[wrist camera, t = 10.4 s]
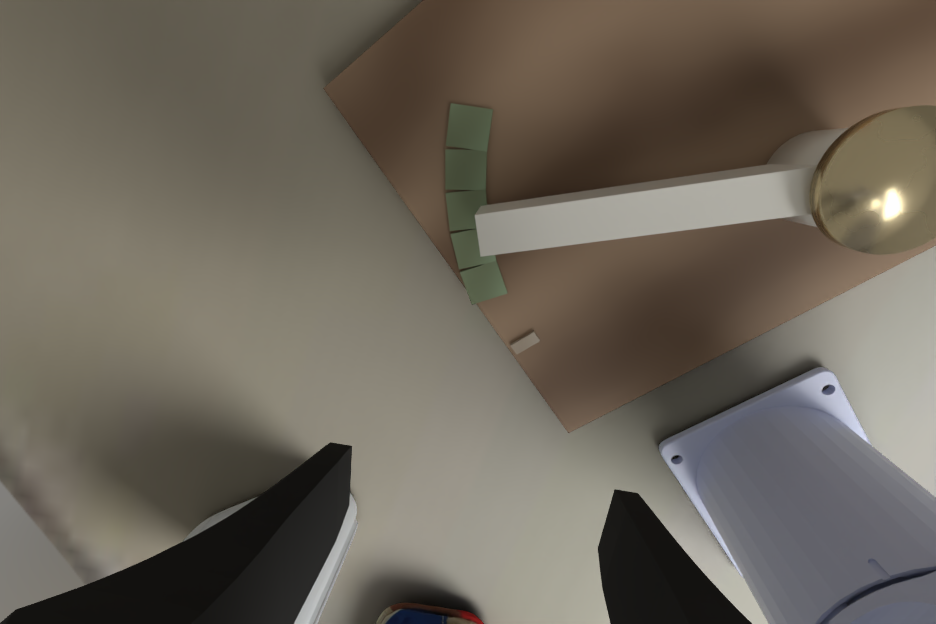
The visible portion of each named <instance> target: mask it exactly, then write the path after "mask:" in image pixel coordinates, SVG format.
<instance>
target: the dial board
mask: <svg viewBox="0 0 936 624" xmlns="http://www.w3.org/2000/svg"><path fill="white" fill-rule="evenodd" d="M323 89H324V90H325V92H326V93H327V94H328V96H329V97H330V99H331V100H332V101H333V103H334V104H335V106H336V107H337V108H338V110H339V111H340V113H341V114H342V116H343V117H344V118H345V120H346V121H347V123H348V124H349V125H350V127H351V128H352V130H353V131H354V132H355V134H356V135H357V137H358V138H359V139H360V141H361V142H362V144H363V145H364V146H365V148H366V149H367V151H368V152H369V153H370V155H371V156H372V158H373V159H374V160H375V162H376V163H377V165H378V166H379V168H380V169H381V170H382V172H383V173H384V175H385V176H386V177H387V179H388V180H389V182H390V183H391V184H392V186H393V187H394V189H395V190H396V191H397V193H398V194H399V196H400V197H401V198H402V200H403V201H404V203H405V204H406V205H407V207H408V208H409V210H410V211H411V212H412V214H413V215H414V217H415V218H416V220H417V221H418V222H419V224H420V225H421V227H422V228H423V229H424V231H425V232H426V234H427V235H428V236H429V238H430V239H431V241H432V242H433V243H434V245H435V246H436V248H437V249H438V250H439V252H440V253H441V255H442V256H443V257H444V259H445V260H446V262H447V263H448V264H449V266H450V267H451V269H452V270H453V272H454V273H455V274H456V276H457V277H458V279H459V280H460V281H461V283H462V284H463V286H464V287H465V288H466V290H467V293H468V295H469V298H470V301H471V303H472V305H473V304H477V305H478V307H479V308H480V309H481V311H482V312H483V314H484V315H485V316H486V318H487V319H488V321H489V322H490V324H491V325H492V326H493V328H494V329H495V331H496V332H497V333H498V335H499V336H500V338H501V339H502V340H503V342H504V343H505V345H506V346H507V347H508V349H509V350H510V352H511V353H512V354H513V356H514V357H515V359H516V360H517V361H518V363H519V364H520V366H521V367H522V368H523V370H524V371H525V373H526V374H527V376H528V377H529V378H530V380H531V381H532V383H533V384H534V385H535V387H536V388H537V390H538V391H539V392H540V394H541V395H542V397H543V398H544V399H545V401H546V402H547V404H548V405H549V406H550V408H551V409H552V411H553V412H554V413H555V415H556V416H557V418H558V419H559V420H560V422H561V423H562V425H563V426H564V428H565V429H566V430H567V432H568V433H570V432H572V431H574V430H576V429H577V428H579V427H581V426H583V425H585V424H587V423H589V422H591V421H593V420H595V419H597V418H599V417H601V416H603V415H605V414H607V413H609V412H611V411H613V410H615V409H617V408H619V407H621V406H622V405H624V404H626V403H628V402H630V401H632V400H634V399H636V398H638V397H640V396H642V395H644V394H646V393H648V392H650V391H652V390H654V389H656V388H658V387H660V386H662V385H664V384H666V383H668V382H669V381H671V380H673V379H675V378H677V377H679V376H681V375H683V374H685V373H687V372H689V371H691V370H693V369H695V368H697V367H699V366H701V365H703V364H705V363H707V362H709V361H711V360H713V359H714V358H716V357H718V356H720V355H722V354H724V353H726V352H728V351H730V350H732V349H734V348H736V347H738V346H740V345H742V344H744V343H746V342H748V341H750V340H752V339H754V338H756V337H758V336H759V335H761V334H763V333H765V332H767V331H769V330H771V329H773V328H775V327H777V326H779V325H781V324H783V323H785V322H787V321H789V320H791V319H793V318H795V317H797V316H799V315H801V314H803V313H804V312H806V311H808V310H810V309H812V308H814V307H816V306H818V305H820V304H822V303H824V302H826V301H828V300H830V299H832V298H834V297H836V296H838V295H840V294H842V293H844V292H846V291H848V290H850V289H851V288H853V287H855V286H857V285H859V284H861V283H863V282H865V281H867V280H869V279H871V278H873V277H875V276H877V275H879V274H881V273H883V272H885V271H887V270H889V269H891V268H893V267H895V266H896V265H898V264H900V263H902V262H904V261H906V260H908V259H910V258H912V257H914V256H916V255H918V254H920V253H922V252H924V251H926V250H928V249H930V248H932V247H934V246H936V238H934V239H933V240H931V241H929V242H927V243H925V244H923V245H921V246H919V247H917V248H914V249H911V250H908V251H905V252H901V253H895V254H887V255H875V254H868V253H862V252H859V251H855V250H851V249H848V248H845V247H842V246H839V245H837V244H835V243H834V242H832V241H831V240H829V239H828V238H826V237H825V236H824V235H823V234H822V233H821V231H820V230H819V229H818V227H814V226H810V225H805V224H801V223H797V222H792V221H788V220H785V219H782V218H777V219H769V220H761V221H754V222H746V223H738V224H730V225H723V226H715V227H707V228H699V229H692V230H684V231H676V232H668V233H661V234H653V235H645V236H637V237H630V238H622V239H614V240H606V241H599V242H591V243H583V244H575V245H568V246H560V247H552V248H544V249H537V250H529V251H521V252H513V253H506V254H498V255H490V256H482V257H481V256H480V249H479V242H478V235H477V228H476V221H475V214H476V212H477V211H478V209H479V208H480V207H481V206H484V205H491V204H497V203H504V202H511V201H518V200H525V199H532V198H539V197H546V196H553V195H560V194H566V193H573V192H580V191H587V190H594V189H601V188H608V187H615V186H622V185H629V184H636V183H642V182H649V181H656V180H663V179H670V178H677V177H684V176H691V175H698V174H705V173H712V172H718V171H725V170H732V169H739V168H746V167H753V166H760V165H766V164H767V162H768V161H769V159H770V158H771V156H772V155H773V154H774V152H775V151H776V150H777V149H778V148H779V147H780V146H781V145H783V144H784V143H785V142H786V141H788V140H790V139H791V138H793V137H795V136H797V135H799V134H802V133H805V132H810V131H818V130H829V129H841V128H850V127H851V126H852V125H854V124H856V123H857V122H859V121H861V120H862V119H864V118H866V117H869V116H871V115H873V114H876V113H879V112H882V111H885V110H890V109H894V108H902V107H910V106H920V105H931V106H936V0H423V1H422V2H421V3H419V4H418V5H417V6H416V7H415V8H414V9H413V10H412V11H410V12H409V13H408V14H407V15H406V16H405V17H404V18H402V19H401V20H400V21H399V22H398V23H397V24H396V25H395V26H393V27H392V28H391V29H390V30H389V31H388V32H387V33H385V34H384V35H383V36H382V37H381V38H380V39H379V40H378V41H376V42H375V43H374V44H373V45H372V46H371V47H370V48H369V49H367V50H366V51H365V52H364V53H363V54H362V55H361V56H359V57H358V58H357V59H356V60H355V61H354V62H353V63H352V64H350V65H349V66H348V67H347V68H346V69H345V70H344V71H342V72H341V73H340V74H339V75H338V76H337V77H336V78H335V79H333V80H332V81H331V82H330V83H329V84H328V85H327V86H326V87H324V88H323Z"/></svg>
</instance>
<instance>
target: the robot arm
mask: <svg viewBox="0 0 936 624" xmlns="http://www.w3.org/2000/svg"><path fill="white" fill-rule="evenodd" d="M826 385H829V387H828V388H827V389H826V390H824V391H822V389H823V387H824V386H826ZM659 451H660V454H661V456H662V457H663V459H664V460H665V462H666V463H667V465H668V466H669V468H670V469H671V471H672V472H673V474H674V475H675V477H676V478H677V480H678V481H679V483H680V484H681V486H682V487H683V489H684V491H685V492H686V494H687V495H688V497H689V498H690V500H691V501H692V503H693V504H694V506H695V507H696V509H697V510H698V512H699V513H700V515H701V516H702V518H703V519H704V521H705V522H706V524H707V525H708V527H709V528H710V530H711V531H712V533H713V534H714V536H715V537H716V539H717V540H718V542H719V543H720V545H721V547H722V548H723V550H724V551H725V553H726V554H727V556H728V557H729V559H730V560H731V562H732V563H733V565H734V566H735V568H736V569H737V571H738V572H739V574H740V575H741V576H742V577H743V578H744V579H745V581H746V583H747V585H748V587H749V588H750V590H751V592H752V594H753V596H754V598H755V599H756V601H757V603H758V605H759V607H760V609H761V610H762V612H763V614H764V616H765V618H766V619H767V621H768V623H769V624H936V497H934V496H933V495H932V494H931V493H930V492H928V491H927V490H926V489H925V488H923V487H922V486H921V485H920V484H918V483H917V482H916V481H915V480H913V479H912V478H911V477H910V476H908V475H907V474H906V473H905V472H903V471H902V470H901V469H900V468H898V467H897V466H896V465H895V464H894V463H892V462H891V461H890V460H889V459H887V458H886V457H885V456H884V455H882V454H881V453H880V452H879V451H877V450H876V449H875V448H874V447H872V445H871V443H870V441H869V439H868V438H867V436H866V434H865V432H864V430H863V428H862V426H861V424H860V422H859V420H858V418H857V416H856V414H855V412H854V410H853V409H852V407H851V405H850V403H849V401H848V399H847V397H846V395H845V393H844V391H843V389H842V387H841V385H840V383H839V382H838V380H837V378H836V376H835V374H834V373H833V372H832V371H830V370H829V369H827V368H824V367H818V368H815V369H812V370H810V371H808V372H806V373H804V374H802V375H800V376H798V377H796V378H793V379H791V380H789V381H787V382H785V383H783V384H781V385H779V386H777V387H775V388H772V389H770V390H768V391H766V392H764V393H762V394H760V395H758V396H756V397H754V398H751V399H749V400H747V401H745V402H743V403H741V404H739V405H737V406H735V407H732V408H730V409H728V410H726V411H724V412H722V413H720V414H718V415H716V416H714V417H711V418H709V419H707V420H705V421H703V422H701V423H699V424H697V425H695V426H693V427H690V428H688V429H686V430H684V431H682V432H680V433H678V434H676V435H674V436H672V437H669V438H667V439H665V440H664V441H662V442H661V443H660V445H659ZM675 455H679V457H678V458H677V459H671V458H672V457H673V456H675ZM351 456H352V446H349V445H343V444H337V443H331V442H330V443H329V444H328V445H326V446H325V447H324V448H322V449H321V450H320V451H318V452H317V453H316V454H315V455H313V456H312V457H311V458H310V459H308V460H307V461H306V462H304V463H303V464H302V465H301V466H299V467H298V468H297V469H295V470H294V471H293V472H292V473H290V474H289V475H288V476H286V477H285V478H283V479H282V480H281V481H279V482H278V483H277V484H275V485H274V486H273V487H271V488H270V489H269V490H267V491H266V492H264V493H263V494H261V495H260V496H258V497H257V498H255V499H254V500H253V501H251V502H250V503H248V504H247V505H245V506H244V507H242V508H241V509H239V510H238V511H236V512H235V513H233V514H231V515H230V516H228V517H227V518H225V519H223V520H222V521H220V522H218V523H216V524H215V525H213V526H211V527H209V528H208V529H206V530H204V531H202V532H201V533H199V534H197V535H195V536H193V537H191V538H189V539H187V540H185V541H183V542H181V543H179V544H177V545H175V546H173V547H171V548H169V549H167V550H165V551H163V552H161V553H159V554H157V555H155V556H153V557H151V558H149V559H147V560H144V561H142V562H140V563H138V564H135V565H133V566H131V567H129V568H126V569H124V570H122V571H119V572H117V573H114V574H112V575H110V576H107V577H105V578H102V579H100V580H97V581H95V582H92V583H90V584H87V585H85V586H82V587H79V588H77V589H74V590H71V591H68V592H65V593H63V594H60V595H57V596H54V597H51V598H48V599H46V600H43V601H40V602H37V603H34V604H31V605H28V606H25V607H22V608H19V609H17V610H15V611H14V612H13V613H11V614H10V615H9V616H8V617H7V618H6V619H4V620H3V621H2V622H1V623H0V624H294V622H295V620H296V619H297V617H298V615H299V613H300V611H301V609H302V607H303V605H304V603H305V601H306V599H307V597H308V595H309V593H310V591H311V589H312V587H313V585H314V583H315V582H316V580H317V578H318V576H319V574H320V572H321V570H322V568H323V566H324V564H325V562H326V560H327V558H328V556H329V554H330V552H331V550H332V548H333V546H334V544H335V542H336V540H337V537H338V535H339V532H340V529H341V527H342V524H343V521H344V519H345V516H346V513H347V510H348V508H349V503H350V479H351ZM598 553H599V563H600V572H601V580H602V587H603V592H604V597H605V601H606V605H607V610H608V614H609V618H610V623H611V624H752V623H751V622H750V621H749V620H748V619H747V618H746V617H745V616H744V615H743V614H742V613H741V612H740V611H739V610H738V609H737V608H736V607H735V606H734V605H733V604H732V603H731V602H730V601H729V600H728V599H727V598H726V597H725V596H724V595H723V594H722V593H721V592H720V591H719V589H718V588H717V587H716V586H715V585H714V584H713V583H712V582H711V581H710V580H709V579H708V578H707V576H706V575H705V574H704V573H703V572H702V571H701V570H700V568H699V567H698V566H697V565H696V564H695V563H694V562H693V560H692V559H691V558H690V557H689V556H688V555H687V553H686V552H685V551H684V550H683V549H682V547H681V546H680V545H679V544H678V543H677V541H676V540H675V539H674V538H673V536H672V535H671V534H670V533H669V531H668V530H667V529H666V528H665V526H664V525H663V524H662V523H661V521H660V520H659V519H658V518H657V516H656V515H655V514H654V513H653V511H652V510H651V509H650V508H649V506H648V505H647V504H646V503H645V501H644V500H643V499H642V498H641V496H640V495H639V494H638V493H633V492H627V491H621V490H614V494H613V497H612V501H611V504H610V508H609V511H608V515H607V518H606V522H605V525H604V529H603V532H602V536H601V539H600V543H599V546H598Z"/></svg>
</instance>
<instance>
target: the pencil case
mask: <svg viewBox="0 0 936 624" xmlns="http://www.w3.org/2000/svg"><path fill="white" fill-rule="evenodd" d="M376 624H484V623H483V622H482V621H481V620H480V619H479V618H478V617H477V616H475V615H474V614H473V613H470V612H467V611H462V610H455V609H447V608H442V607H436V606H428V605H423V604H417V603H398V604H395V605H392V606H390V607H388V608H386V609H385V610H384V611H383V612H382V613H381V615H380V616H379V617H378V620H377V622H376Z"/></svg>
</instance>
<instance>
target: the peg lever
mask: <svg viewBox="0 0 936 624" xmlns="http://www.w3.org/2000/svg"><path fill="white" fill-rule="evenodd" d="M777 218H782V219H785V220H788V221H792V222H797V223H801V224H805V225H810V226H814V227H818V229H819V230H820V231H821V233H822V234H823V235H824V236H825V237H826V238H828V239H829V240H831V241H832V242H834V243H835V244H837V245H839V246H842V247H845V248H848V249H851V250H855V251H859V252H862V253H868V254H875V255H887V254H895V253H901V252H905V251H908V250H911V249H914V248H917V247H919V246H921V245H923V244H925V243H927V242H929V241H931V240H933V239H934V238H936V106H931V105H920V106H910V107H902V108H894V109H890V110H885V111H882V112H879V113H876V114H873V115H871V116H869V117H866V118H864V119H862V120H861V121H859V122H857V123H856V124H854V125H852V126H851V127H850V128H841V129H829V130H818V131H810V132H805V133H802V134H799V135H797V136H795V137H793V138H791V139H790V140H788V141H786V142H785V143H784V144H783V145H781V146H780V147H779V148H778V149H777V150H776V151H775V152H774V154H773V155H772V156H771V158H770V159H769V161H768V162H767V164H766V165H760V166H753V167H746V168H739V169H732V170H725V171H718V172H712V173H705V174H698V175H691V176H684V177H677V178H670V179H663V180H656V181H649V182H642V183H636V184H629V185H622V186H615V187H608V188H601V189H594V190H587V191H580V192H573V193H566V194H560V195H553V196H546V197H539V198H532V199H525V200H518V201H511V202H504V203H497V204H491V205H484V206H481V207H480V208H479V209H478V211H477V212H476V214H475V221H476V228H477V235H478V242H479V249H480V256H481V257H482V256H490V255H498V254H506V253H513V252H521V251H529V250H537V249H544V248H552V247H560V246H568V245H575V244H583V243H591V242H599V241H606V240H614V239H622V238H630V237H637V236H645V235H653V234H661V233H668V232H676V231H684V230H692V229H699V228H707V227H715V226H723V225H730V224H738V223H746V222H754V221H761V220H769V219H777Z"/></svg>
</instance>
